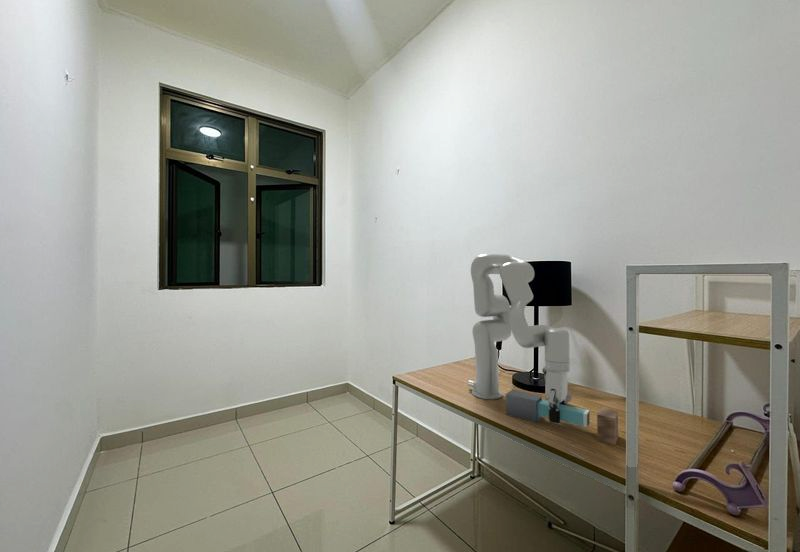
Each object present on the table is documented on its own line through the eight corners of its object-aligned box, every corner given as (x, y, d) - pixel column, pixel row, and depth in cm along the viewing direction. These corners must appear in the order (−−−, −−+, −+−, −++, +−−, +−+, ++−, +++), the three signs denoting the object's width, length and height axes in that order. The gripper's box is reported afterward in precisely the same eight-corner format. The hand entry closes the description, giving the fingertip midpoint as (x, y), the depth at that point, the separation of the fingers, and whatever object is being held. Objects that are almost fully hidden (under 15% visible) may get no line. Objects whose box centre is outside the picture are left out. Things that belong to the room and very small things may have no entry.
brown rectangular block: (597, 440, 97) (597, 414, 97) (601, 431, 103) (600, 407, 103) (615, 445, 94) (614, 418, 95) (618, 436, 100) (617, 411, 100)
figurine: (544, 398, 132) (544, 361, 132) (572, 403, 127) (571, 365, 127) (541, 405, 124) (541, 366, 125) (571, 410, 119) (570, 370, 119)
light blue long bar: (511, 408, 116) (511, 396, 116) (515, 404, 119) (515, 393, 119) (587, 427, 100) (586, 414, 100) (589, 423, 104) (589, 410, 104)
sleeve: (506, 414, 116) (505, 393, 116) (512, 409, 121) (512, 389, 121) (536, 423, 109) (536, 400, 109) (542, 417, 114) (541, 395, 114)
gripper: (552, 358, 117) (553, 407, 117) (537, 369, 104) (538, 423, 104) (575, 361, 112) (576, 412, 112) (562, 373, 99) (563, 430, 99)
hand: (557, 417), depth 108 cm, fingers open, 7 cm apart
